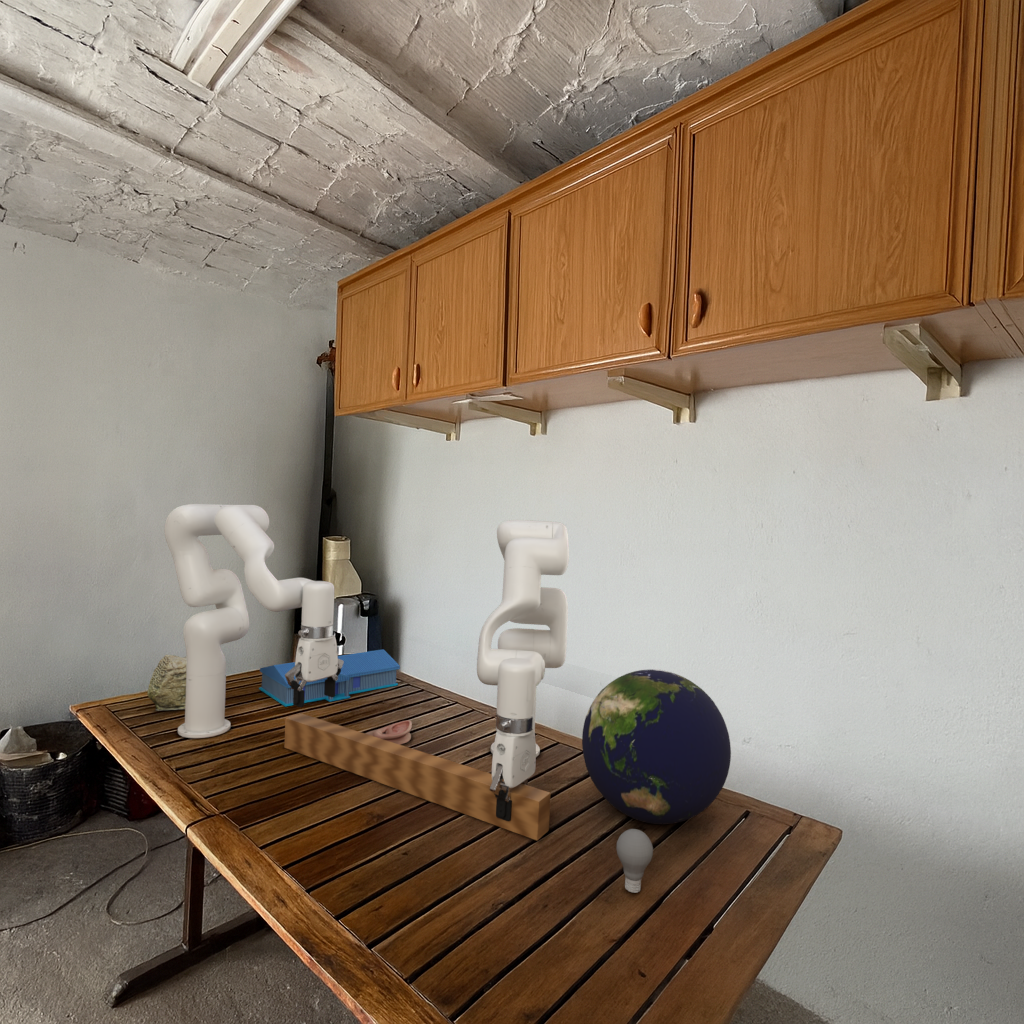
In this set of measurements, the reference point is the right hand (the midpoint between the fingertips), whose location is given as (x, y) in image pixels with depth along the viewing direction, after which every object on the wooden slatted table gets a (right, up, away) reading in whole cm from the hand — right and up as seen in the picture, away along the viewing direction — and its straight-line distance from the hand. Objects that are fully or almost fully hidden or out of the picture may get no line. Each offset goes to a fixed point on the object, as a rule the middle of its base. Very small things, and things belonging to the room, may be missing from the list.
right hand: (510, 812), depth 126 cm
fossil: (-96, +3, +59) cm, 113 cm away
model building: (-59, +2, +82) cm, 101 cm away
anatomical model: (-33, 0, +40) cm, 52 cm away
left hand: (-49, +13, +30) cm, 59 cm away
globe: (+29, -3, +5) cm, 30 cm away
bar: (-25, -1, +15) cm, 29 cm away
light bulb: (+20, -4, -20) cm, 29 cm away
